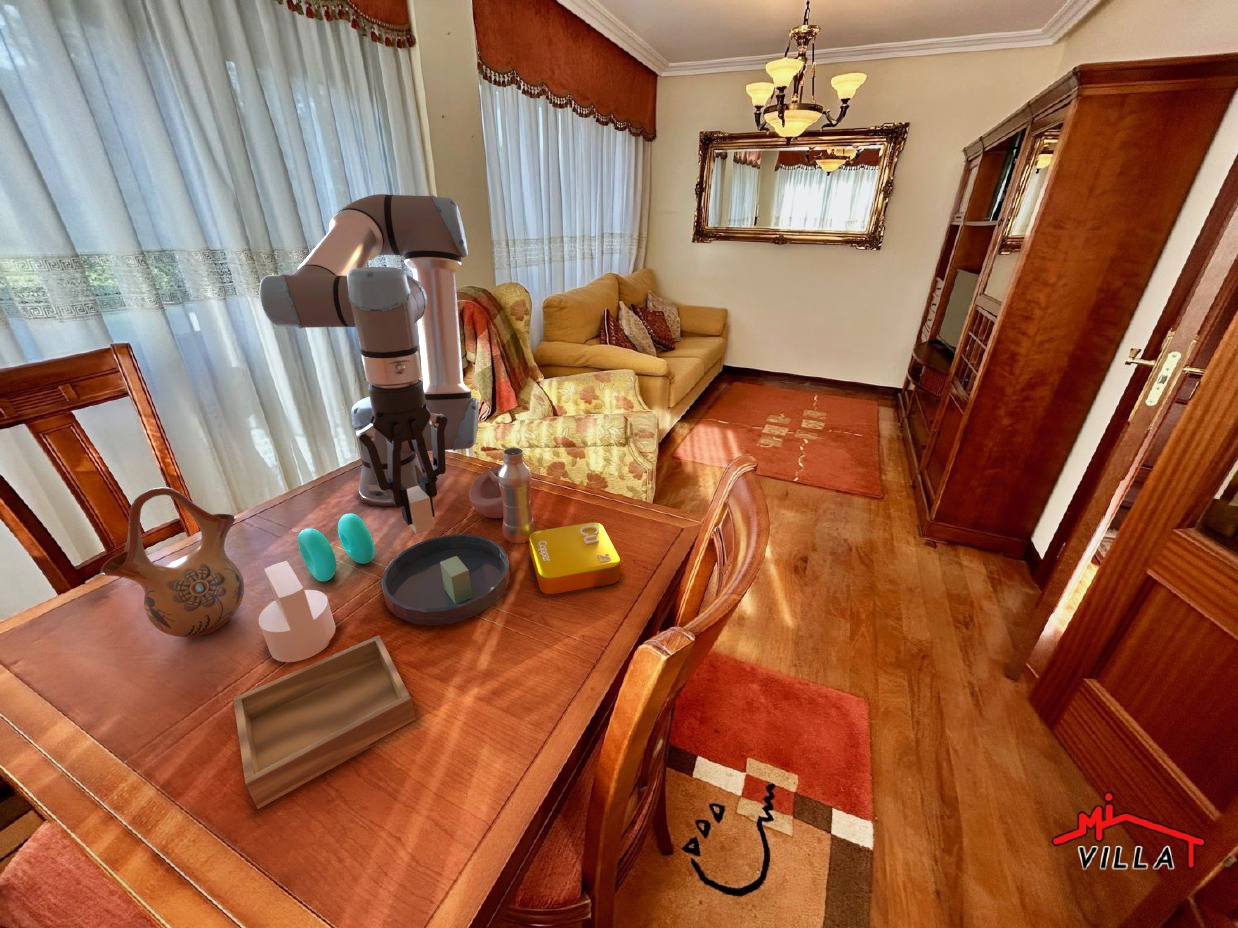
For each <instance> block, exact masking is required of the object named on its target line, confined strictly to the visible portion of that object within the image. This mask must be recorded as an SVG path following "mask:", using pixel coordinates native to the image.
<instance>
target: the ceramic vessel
mask: <svg viewBox="0 0 1238 928" xmlns="http://www.w3.org/2000/svg"><path fill="white" fill-rule="evenodd" d="M159 496H168V497H171V498H173V499H174V500H175V502H177V503H178V504H179V505H181V506H182V507H183V508H184V509H185V510H186V511H187V512H188V513H189V514H190V515H191V517H192V518H193V520H194V521H195V523H196V524H197V526H198V528H199V530H200V533H201V539H200V542H199V544H198V546H197V547H196V548H195V549H194V550H193V551H192V552H190V553H188V554H187V555H184V556H181V557H180V558H177V559H175V560H173V561H171V562H169V563H166V564H157V563H155V562H152V561H151V560H150V558H149V557H148V555H147V552H146V550H145V548H144V544H143V540H142V535H141V514H142V508H143V506H144V504H145V503H146V502H148V501H149V500H151V499H153V498H155V497H159ZM236 520H237V516H235V515H234V514H229V513H212V514H211V512H209V511H206V510H205V509H203V508H202V507H200V506H198V505H197V504H196V503H194V502H193V501H192V500H190V499H189V498H188V497H187V496H186V495H185V494H183V493H182V492H180V490H179V491H178V490H177V489H175V488H172V487H155V488H149V489H148V490H146V491H144V492H143V493H141V494H140V495H138V496H137V497H135V499H134V500H133V502H132V503H131V505H130V508H129V513H128V530H127V539H126V544H125V546H124V550H123V551H122V552H119V553H117V554H115V555H113V556H111V557H109V558H108V559H107V560H106V561H105V562H104V563H103V564H102V566H101V567H100V574H101V575H103V576H108V577H116V578H124V579H127V580H131V581H134V582H136V584H138V585H139V586H140V587H141V588H142V590H143V592H144V598H143V606H144V610H145V614H146V616H147V619H148V620H149V622H150V623H151V624H152V625H153V626H154V628H156V629H157V630H159V631H160V632H162V633H163V634H164V633H165V634H166V635H169V636H173V637H176V638H197V637H202V636H206V635H208V634H211V633H213V632H215V631H217V630H219V629H220V628H222V627H223V626H225V625H226V624H227V623H228V622H229V621H230V620H231V619H232V618H233V616H234V615H235V614H236V613H237V611H238V609H239V608H240V606H241V604H242V601H243V598H244V594H245V582H244V577H243V574H242V572H241V570H240V568H239V567H238V566H237V565H236V564H235V563H234V562H233V561H232V560H231V559H230V558H229V556H228V555H227V554H226V551H225V544H226V543H225V542H226V539H227V535H228V534H229V532H230V529H231V527H233V525H234V523H235V522H236Z"/></svg>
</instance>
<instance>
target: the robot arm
mask: <svg viewBox="0 0 1238 928" xmlns="http://www.w3.org/2000/svg"><path fill="white" fill-rule="evenodd" d="M328 224H329V226H328V233H326V235H324V237H323V238H322V239H321V241H320V242H319V243H318V244H317V245H316V247H314V248H313V250H312V251H311V252H310V253H309V254H308V256H307V257H306V258H305V259H304V260H303V261H302V263H301V264H300V265H299V266H298V267H297V268H296V270H295V271H294V272H293V273H292V274H285V273H279V274H268V275H266V276H263V278H262V279H261V280H260V283H259V288H258V289H259V290H258V291H259V292H258V293H259V302H260V305H261V307H262V310H263V312H264V314H265V316H266V318H267V319H268V320H269V321H270V322H271V323H272V324H273V325H275V326H277V327H280V328H281V327H282V328H298V329H305V328H310V329H311V328H355V329H356V330H355V331H356V334H357V335H356V336H357V338H358V345H359V350H360V356H361V360H362V365H363V370H364V374H365V380H366V382H368V383H369V384H368V386H367V391H368V395H369V396H367V397H365V398H362V399H360V400H358V401H357V402H356V403H354V405H352V407H351V411H350V413H351V419H352V429H353V431H354V435H355V440H356V444H357V449H358V453H359V456H360V461H361V472H360V479H359V485H358V493H359V497H360V500H361V501H362V502H363V503H365V504H367V505H370V506H375V507H394V506H395V507H396V508H400V512H401V516H402V520H403V521H404V522H405V523H406V524H407V525H408V526H410V525H411V524H413V523H412V517H411V512H410V506H409V500H408V494H407V489H408V488H412V487H415V486H419V487H420V488H421V489H422V490H423V491H424V492H425V493H426V494H427V495H428V496H429V497H430V503H431V509H432V516H433V518H435V517H436V515H435V508H434V503H433V502H434V501H433V498H434V497H437V495H438V490H437V483H436V482H437V481H438V476H440V475H444V474H446V471H447V465H446V451H454V452H455V451H457V450H467V449H471V448H473V447H474V446H475V444H476V442H477V436H478V429H479V415H480V409H479V405H480V402H479V399H478V398H475V397H472V390H471V389H470V388H469V387H468V386H466V384H465V383H464V373H463V372H464V371H463V359H462V347H461V335H460V322H459V309H458V296H457V283H456V273H457V272H458V271H459V270H460V269H461V267H462V258H466V257H468V255H469V252H468V244H467V243H468V242H467V238H466V233H465V229H464V224H463V220H462V216H461V211H460V209H459V207H458V203H457V202H456V201H455V200H454V199H453V198H451V197H445V196H436V195H434V194H431V195H411V194H410V195H409V194H407V195H406V194H387V193H386V194H385V193H378V194H371V195H367V196H364V197H361V198H358V199H356V200H354V201H352V202H350V203H348V204H347V205H345V206H344V207H342V208H341V209H339V210H338V211H337V212H336V213H335V214H334V215H333V216H332V218H331V220H330V222H329V223H328ZM378 256H403V258H404V264H405V266H407V267H408V269H410V270H411V272H412V273H413V276H411V275H409V274H406V272H405V271H404V270H402V269H400V268H397V267H392V266H391V267H390V266H367V267H366V265H367V263H368V262H369V261H372V260H374V259H376V258H377V257H378ZM416 323H417V328H418V339H419V349H418V343H417V342H418V341H417V334H416V328H415V327H416V326H415V324H416ZM419 350H420V356H419ZM420 360H421V361H420ZM421 377H422V379H421ZM429 452H432V453H431V454H432V462H431V458H430V455H429Z"/></svg>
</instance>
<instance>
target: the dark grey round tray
mask: <svg viewBox="0 0 1238 928" xmlns="http://www.w3.org/2000/svg"><path fill="white" fill-rule="evenodd" d="M455 556H457V557H458V558H459V559H460V560H461V562H462V563H463V564H464V565H465V566H466V568H467V569H468V570H469V577H470V585H471V593H472V598H470V599H468V600H465V601H463V602H461V603H459V604H455V603H454V602H453V600H452V599H451V598H450V596H449V595H448V593H447V592H446V591H445V589H444V584H443V577H442V571H441V565H440V562H441V561H444V560H447V559H449V558H452V557H455ZM510 573H511V572H510V563H509V555H508V554H507V552H506V551H505V548H504V547H503V546H502V545H500V544H499V543H498V542H496V541H494V540H493V539H489V538H488V537H484V536H482V535H475V534H468V533H455V534H446V535H440V536H436V537H435V536H434V537H432V538H429V539H428V538H427V539H425V540H423V541H419V542H417V543H416V544H413V545H411V546H410V547H408V548H406V549H403V550H402V552H400V553H399V554H398V555H396V556H395V557H394V558H393V559H392V560H391V561H390V562H389V564H388V565H387V566H386V567H385V569H384V570H383V573H382V577H381V581H380V585H381V589H382V593H383V598H384V601H385V605H386V607H387V609H388V610H389V611H390V612H391V613H392V614H393V615H394V616H395V617H397V618H398V619H400V620H403V621H404V622H407V623H410V624H414V625H422V626H441V625H442V626H443V625H448V624H454V623H458V622H461V621H464V620H467V619H470V618H472V617H474V616H476V615H479V614H481V613H483V612H484V611H486V610H487V609H489V608H490V607H491V606H493V605H495V603H496V602H498V600H499V599H500V598H501V597H502V596H503V595H504V593H505V592H506V590H507V588H508V586H509V583H510V579H511V574H510Z"/></svg>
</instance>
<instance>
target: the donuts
mask: <svg viewBox="0 0 1238 928" xmlns="http://www.w3.org/2000/svg"><path fill="white" fill-rule="evenodd" d="M337 534H338V538H339V541H340V543H341V546H342V548H343V550H344V551H345V553H346V554H347V556H348V558H349V559H351V560H352V561H354V562H355V563H357V564H360V565H366V564H368V563H371V562H372V561H373V560H374V558H375V555H376V549H375V544H374V540H373V537H372V535H371V532H370V530H369V527H368V526H367V525H366V522H365V521H364V520H363V519H362V518H361V517H360V516H359V515H358V514H356V513H352V512H349V513H345V514H343V515H342V516H341V517H340V519H338V523H337ZM297 544H298V550H299V553H300V555H301V557H302V560H303V562H304V564H305V566H306V567H307V570H308V571H309V573H310V574H311V575H312V577H313V578H314V579H315V580H317V581H319V582H328V581H330V580H331V579H332V578H334V576H335V574H336V572H337V559H336V555H335V552H334V550H333V548H332V546H331V544H330V542H329V540H328V538H327V537H326V536H325V534H323V533H322V532H321V531H319V530H318V529H315V528H312V527H309V528H304V529H303V530H301V531H300V532H299V533H298V536H297Z"/></svg>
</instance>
